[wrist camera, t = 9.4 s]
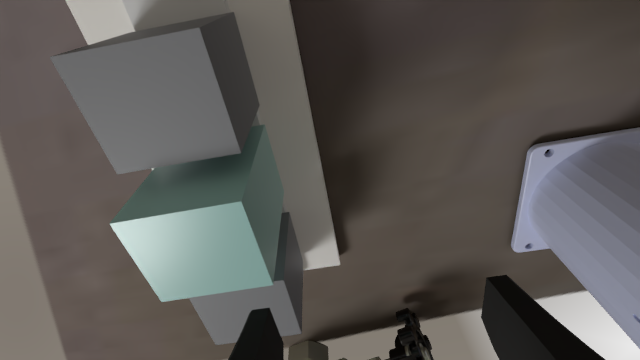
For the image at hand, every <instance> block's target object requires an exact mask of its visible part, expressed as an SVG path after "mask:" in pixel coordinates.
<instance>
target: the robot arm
mask: <svg viewBox="0 0 640 360" xmlns="http://www.w3.org/2000/svg"><path fill="white" fill-rule="evenodd" d="M548 149H550V150H549V152H548V153H546V154H545V152H546V151H547V150H548ZM511 247H512V249H513V250H514V251H515V252H526V251H534V250H541V249H548V248H550V249H551V250H552V251H553V252H554V253H555V254H556V255H557V256H558V258H559V259H560V260H561V261H562V262H563V263H564V264H565V265H566V267H567V268H568V269H569V270H570V271H571V272H572V273H573V274H574V276H575V277H576V278H577V279H578V280H579V281H580V282H581V283H582V285H583V286H584V287H585V288H586V289H587V290H588V291H589V292H590V293H591V295H593V297H594V298H595V299H596V300H597V301H598V302H599V304H600V305H601V306H602V307H603V308H604V309H605V310H606V311H607V312H608V314H609V315H610V316H611V317H612V318H613V319H614V320H615V322H616V323H617V324H618V325H619V326H620V327H621V328H622V329H623V331H624V332H626V334H627V335H628V336H629V337H630V338H631V340H632V341H633V342H634V343H635V344H636V345H637V346H638V347H639V349H640V127H638V128H632V129H626V130H620V131H614V132H608V133H601V134H595V135H589V136H583V137H577V138H571V139H564V140H558V141H552V142H546V143H540V144H536V145H533V146H532V147H531V148H530V149H529V150H528V153H527V157H526V163H525V169H524V174H523V180H522V186H521V191H520V197H519V203H518V208H517V214H516V219H515V225H514V231H513V236H512V242H511ZM481 318H482V320H483V323H484V325H485V328H486V331H487V333H488V336H489V337H490V340H491V343H492V345H493V347H494V350H495V352H496V354H497V356H498V358H499V359H500V360H605V359H604V358H603V357H601V356H600V355H599V354H597V353H596V352H595V351H594V350H592V349H591V348H590V347H589V346H587V345H586V344H585V343H584V342H582V341H581V340H580V339H579V338H578V337H576V336H575V335H574V334H573V333H572V332H570V331H569V330H568V329H567V328H566V327H564V326H563V325H562V324H561V323H560V322H558V321H557V320H556V319H555V318H554V317H553V316H551V315H550V314H549V313H548V312H547V311H546V310H545V309H544V308H542V307H541V306H540V305H539V304H538V303H537V302H536V301H535V300H533V299H532V298H531V297H530V296H529V295H528V294H527V293H526V292H525V291H524V290H522V289H521V288H520V287H519V286H518V285H517V284H516V283H515V282H514V281H513V280H512V279H510V278H509V277H508V276H507V275H502V276H495V277H488V278H486V286H485V293H484V301H483V308H482V316H481ZM228 360H283V341H282V338H281V336H280V333H279V331H278V328H277V326H276V323H275V320H274V318H273V315H272V313H271V310H270V308H263V309H255V310H252V311H251V312H250V313H249V315H248V318H247V320H246V322H245V325H244V327H243V329H242V332H241V334H240V336H239V338H238V340H237V343H236V345H235V347H234V349H233V351H232V353H231V355H230V357H229V359H228Z"/></svg>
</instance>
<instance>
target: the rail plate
mask: <svg viewBox="0 0 640 360" xmlns="http://www.w3.org/2000/svg"><path fill="white" fill-rule="evenodd" d="M66 2H67V4H68V6H69V8H70V10H71V12H72V14H73V16H74V18H75V20H76V22H77V24H78V26H79V28H80V30H81V32H82V34H83V36H84V38H85V40H86V42H87V43H88V45H87V46H84V47H81V48H78V49H74V50H71V51H68V52H65V53H61V54H58V55H55V56H51V57H50V59H51V60H52V62H53V64H54V66H55V67H56V69H57V71H58V72H59V74H60V76H61V78H62V79H63V81H64V83H65V85H66V86H67V88H68V90H69V92H70V93H71V95H72V97H73V98H74V100H75V102H76V104H77V105H78V107H79V109H80V111H81V112H82V114H83V116H84V118H85V119H86V121H87V123H88V124H89V126H90V128H91V130H92V131H93V133H94V135H95V137H96V138H97V140H98V142H99V143H100V145H101V147H102V149H103V150H104V152H105V154H106V156H107V157H108V159H109V161H110V163H111V164H112V166H113V168H114V169H115V171H116V173H117V174H122V173H127V172H133V171H139V170H145V169H152V171H153V169H154V168H157V167H163V166H169V165H174V164H180V163H186V162H192V161H198V160H204V159H210V158H216V157H221V156H227V155H233V154H239V153H241V152H242V150H243V147H244V145H245V142H246V139H247V137H248V134H249V132H250V129H251V127H253V126H258V125H264V124H265V127H266V131H267V134H268V138H269V141H270V145H271V148H272V151H273V155H274V158H275V162H276V165H277V169H278V172H279V176H280V179H281V182H282V186H283V189H284V197H283V205H282V214H281V222H280V231H279V239H278V248H277V257H276V265H275V274H274V282H273V285H271V286H265V287H258V288H251V289H245V290H238V291H231V292H225V293H218V294H211V295H205V296H198V297H191V298H189V299H190V301H191V303H192V304H193V306H194V308H195V310H196V311H197V313H198V315H199V317H200V318H201V320H202V322H203V324H204V325H205V327H206V329H207V330H208V332H209V334H210V336H211V337H212V339H213V341H214V343H215V344H216V345H220V344H227V343H235V342H237V340H238V338H239V336H240V334H241V332H242V329H243V327H244V325H245V322H246V320H247V318H248V315H249V313H250V312H251V311H252V310H255V309H263V308H270V310H271V313H272V315H273V318H274V320H275V323H276V326H277V328H278V331H279V333H280V336H288V335H296V334H302V289H303V270H308V269H315V268H322V267H329V266H336V265H340V258H339V252H338V247H337V242H336V237H335V231H334V226H333V221H332V216H331V211H330V206H329V201H328V195H327V190H326V185H325V180H324V175H323V170H322V165H321V159H320V154H319V149H318V144H317V139H316V134H315V129H314V123H313V118H312V113H311V108H310V103H309V98H308V93H307V88H306V82H305V77H304V72H303V67H302V62H301V57H300V52H299V46H298V41H297V36H296V31H295V26H294V21H293V16H292V10H291V5H290V0H66Z"/></svg>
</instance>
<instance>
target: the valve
mask: <svg viewBox="0 0 640 360" xmlns="http://www.w3.org/2000/svg"><path fill="white" fill-rule="evenodd" d="M396 317H397V320H398V322H400V321H404V322H405V324H406V325H405V327H404V328H402V329H399V330H398V335H397V337H396V339H395V347H396V348H394V349H391V350H390V351H389V356H390V358H389V359H386V360H434V359H433V357H432V354H431V351H430V350H431V349H432V347H431V344H430V341H429V339H428V337H427V336H426V335H423V334H422V332H421V330H420V323H419V320H418V318H417V316H416V314H415V313H412V314H411V312H410V310H409V309H408V308H405V309H403V310H400V311H397V312H396ZM288 360H328V347H327V346H326V345H324V344H322V343H319V342H313V341H309V340H308V341H304V342H302V343H299V344H296V345H293V346H291V347H289V357H288ZM339 360H347V359H345V358H342V359H339ZM369 360H381V359H380V358H379V357H375V358H372V359H369Z"/></svg>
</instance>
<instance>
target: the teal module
mask: <svg viewBox="0 0 640 360" xmlns="http://www.w3.org/2000/svg"><path fill="white" fill-rule="evenodd" d="M283 197H284V189H283V186H282V182H281V179H280V176H279V172H278V169H277V165H276V162H275V158H274V155H273V151H272V148H271V145H270V141H269V138H268V134H267V131H266V127H265V124H264V125H258V126H253V127H251V129H250V132H249V134H248V137H247V139H246V142H245V145H244V147H243V150H242V152H241V153H239V154H233V155H227V156H221V157H216V158H210V159H204V160H198V161H192V162H186V163H180V164H174V165H169V166H163V167H157V168H154V169H153V171H152V172H151V173H150V174H149V176H148V177H147V178H146V179H145V180H144V182H143V183H142V184H141V185H140V187H139V188H138V189H137V190H136V192H135V193H134V194H133V195H132V196H131V198H130V199H129V200H128V201H127V203H126V204H125V205H124V206H123V208H122V209H121V210H120V211H119V213H118V214H117V215H116V216H115V217H114V219H113V220H112V221H111V222H110V226H111V227H112V229H113V230H114V232H115V233H116V235H117V236H118V238H119V239H120V241H121V242H122V244H123V245H124V247H125V248H126V250H127V251H128V253H129V254H130V255H131V257H132V258H133V260H134V261H135V263H136V264H137V266H138V267H139V269H140V270H141V272H142V273H143V275H144V276H145V278H146V279H147V281H148V282H149V284H150V285H151V287H152V288H153V290H154V291H155V293H156V294H157V296H158V297H159V299H160V300H161V302H165V301H171V300H178V299H185V298H191V297H198V296H205V295H211V294H218V293H225V292H231V291H238V290H245V289H251V288H258V287H265V286H271V285H273V282H274V274H275V265H276V257H277V248H278V239H279V231H280V222H281V214H282V205H283Z"/></svg>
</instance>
